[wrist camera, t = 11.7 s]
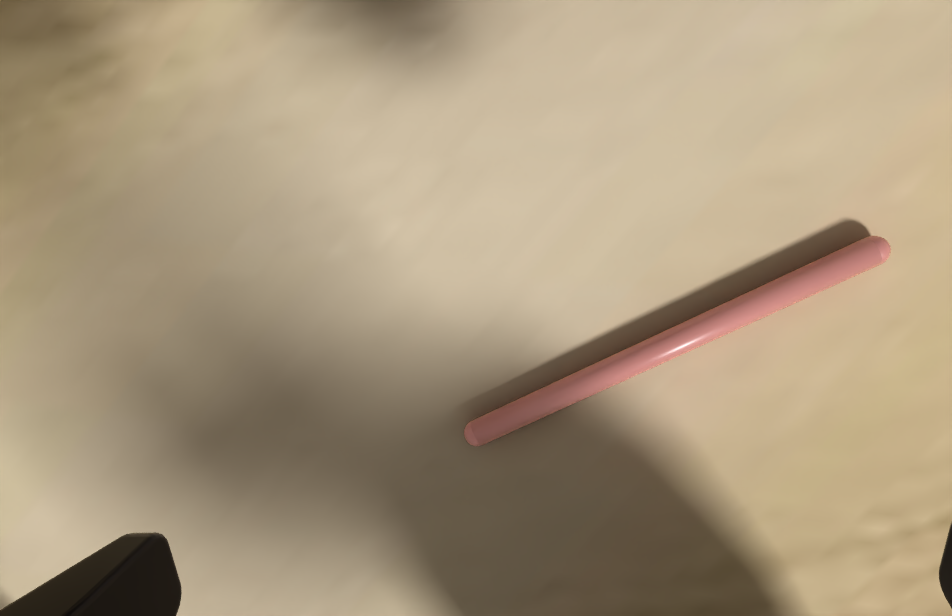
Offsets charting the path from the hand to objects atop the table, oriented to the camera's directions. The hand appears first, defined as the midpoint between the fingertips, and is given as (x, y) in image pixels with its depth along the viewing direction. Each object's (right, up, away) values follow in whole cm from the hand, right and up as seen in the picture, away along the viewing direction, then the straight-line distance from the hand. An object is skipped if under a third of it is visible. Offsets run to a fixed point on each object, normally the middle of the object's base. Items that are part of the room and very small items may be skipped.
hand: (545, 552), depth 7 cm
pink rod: (+5, +2, +11) cm, 12 cm away
